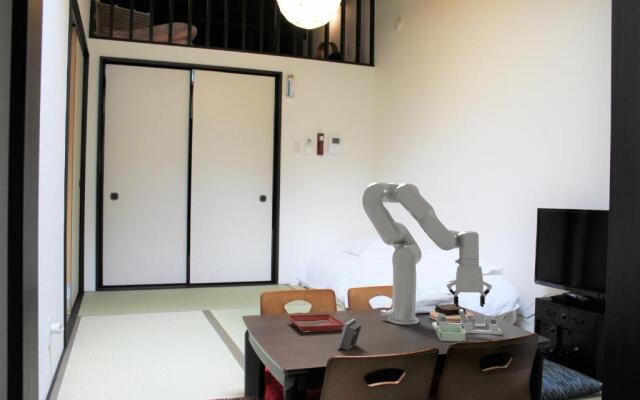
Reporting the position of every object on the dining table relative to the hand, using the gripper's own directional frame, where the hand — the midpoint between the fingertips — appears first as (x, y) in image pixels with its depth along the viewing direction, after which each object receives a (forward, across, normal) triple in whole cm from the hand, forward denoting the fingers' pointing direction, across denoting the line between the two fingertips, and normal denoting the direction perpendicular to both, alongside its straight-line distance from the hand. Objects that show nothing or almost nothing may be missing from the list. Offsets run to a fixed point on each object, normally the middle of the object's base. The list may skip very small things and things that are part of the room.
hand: (469, 306), depth 211 cm
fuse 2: (+10, +8, 0) cm, 13 cm away
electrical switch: (+8, -46, -33) cm, 57 cm away
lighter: (+9, -1, 0) cm, 9 cm away
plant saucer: (+8, -60, -8) cm, 61 cm away
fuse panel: (+9, -1, 0) cm, 9 cm away
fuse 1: (+9, -11, 0) cm, 14 cm away
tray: (+9, -9, -13) cm, 18 cm away
